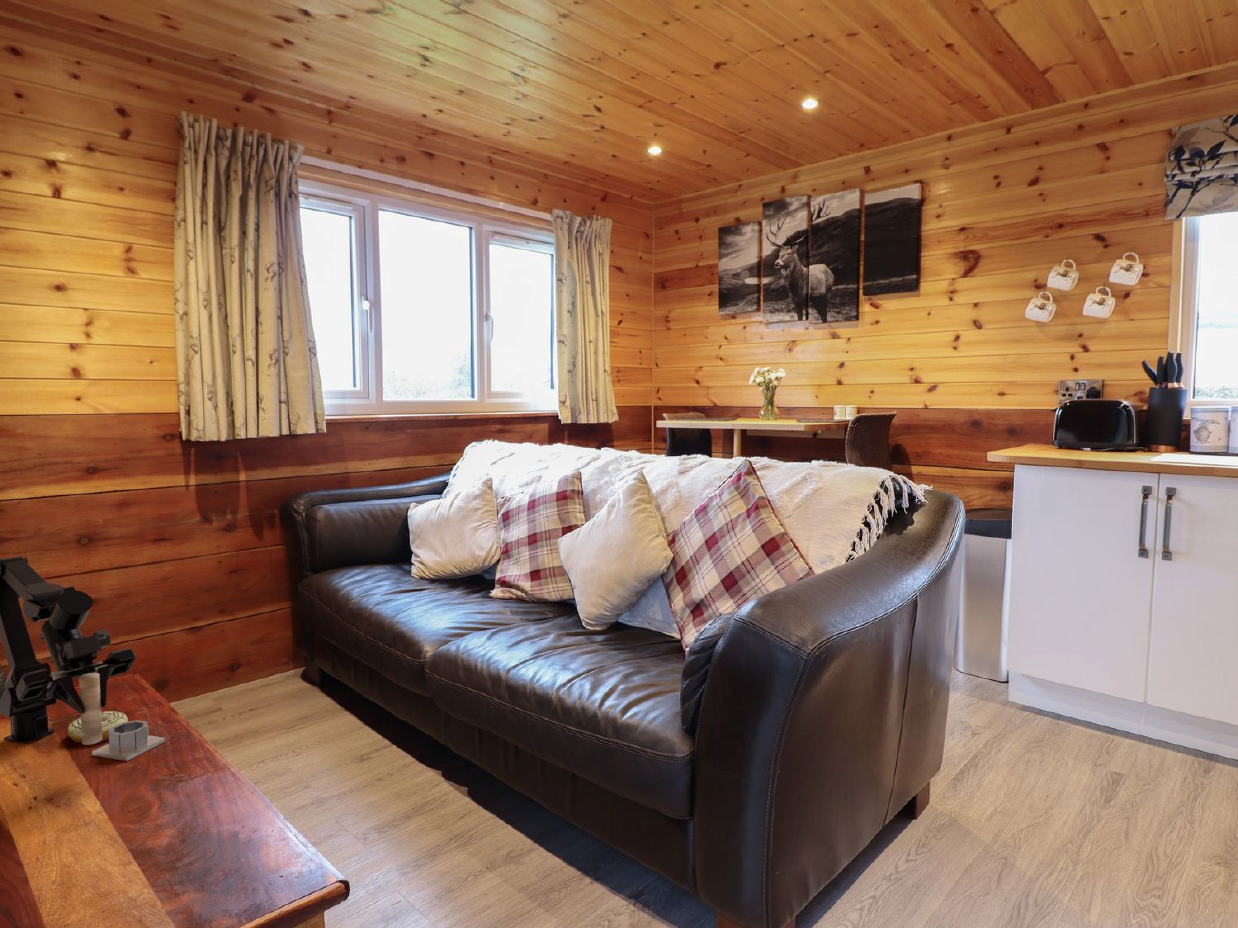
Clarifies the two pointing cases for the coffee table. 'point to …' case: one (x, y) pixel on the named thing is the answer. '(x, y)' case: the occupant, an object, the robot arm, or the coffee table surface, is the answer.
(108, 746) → the cup bracket
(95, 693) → the wooden post
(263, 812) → the coffee table surface
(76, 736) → the decorated donut
